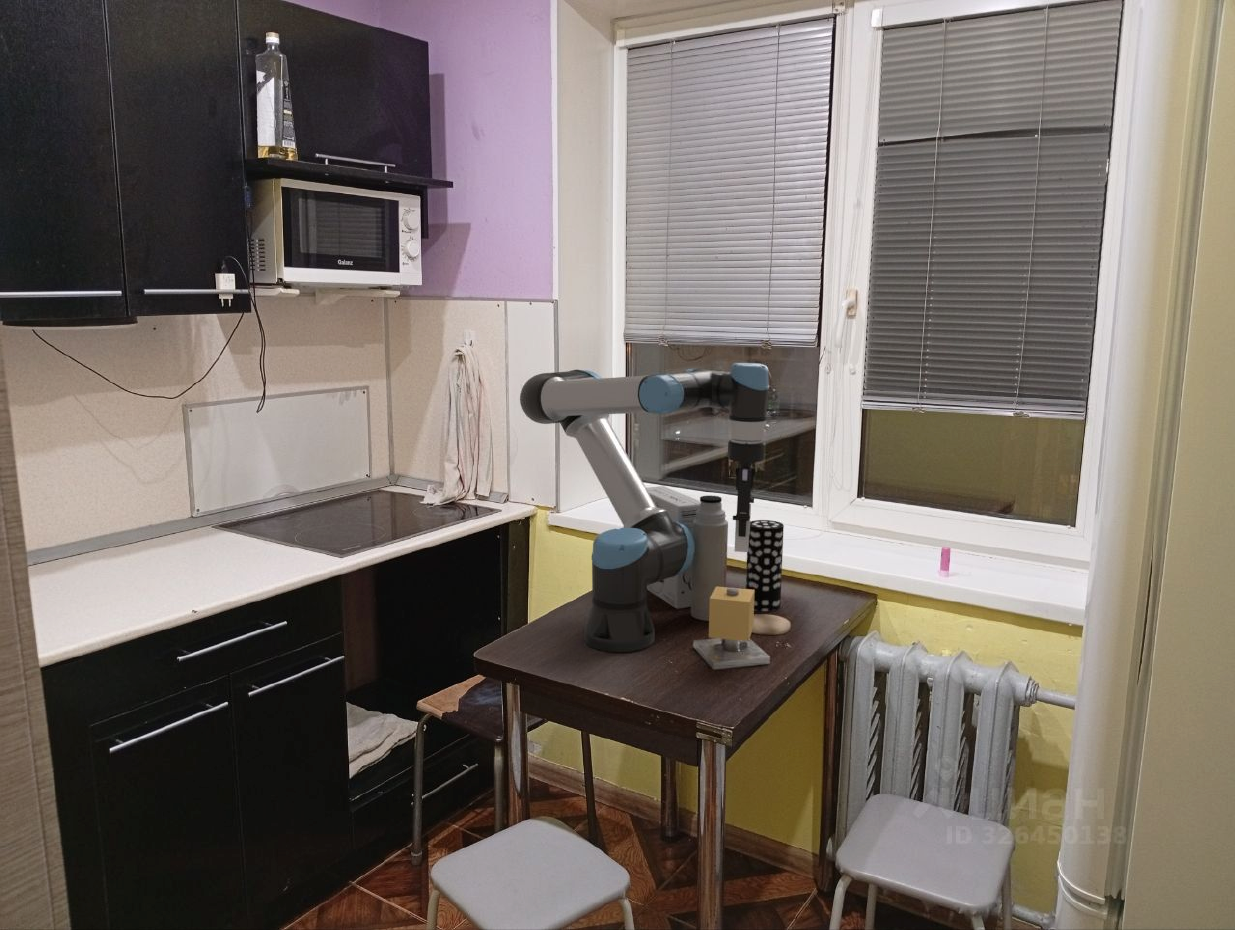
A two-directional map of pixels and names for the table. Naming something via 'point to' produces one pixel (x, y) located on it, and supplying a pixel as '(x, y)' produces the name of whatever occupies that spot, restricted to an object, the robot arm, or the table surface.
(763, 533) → the white-spotted black cylinder
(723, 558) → the thermos bottle
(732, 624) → the yellow knobbed cube
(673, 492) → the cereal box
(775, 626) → the cork pad
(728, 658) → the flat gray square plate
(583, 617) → the table surface
